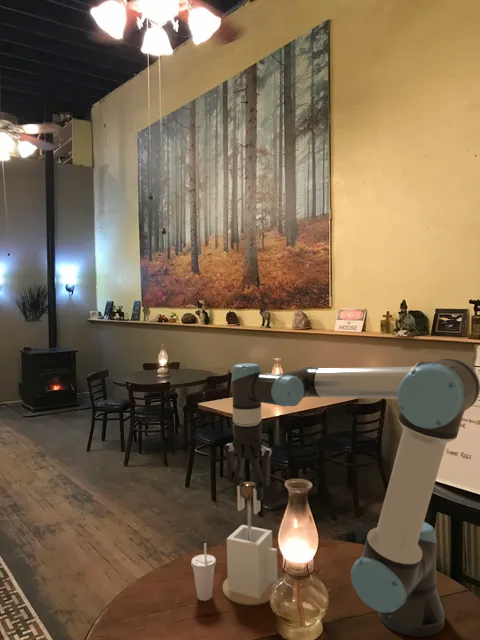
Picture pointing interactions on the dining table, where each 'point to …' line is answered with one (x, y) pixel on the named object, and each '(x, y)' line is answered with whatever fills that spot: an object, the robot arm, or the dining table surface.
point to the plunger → (248, 501)
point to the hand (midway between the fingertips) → (249, 510)
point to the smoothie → (203, 574)
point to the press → (250, 566)
